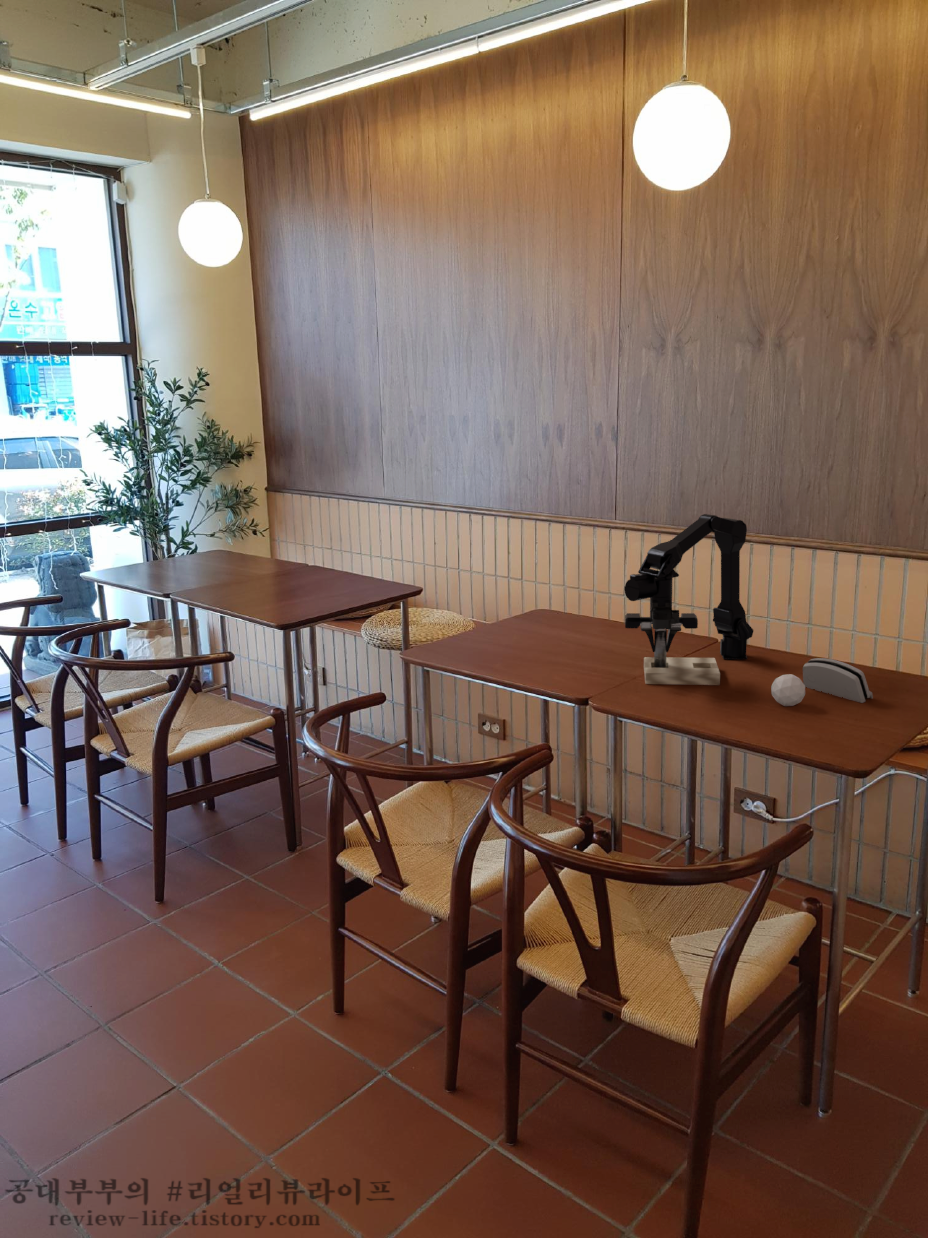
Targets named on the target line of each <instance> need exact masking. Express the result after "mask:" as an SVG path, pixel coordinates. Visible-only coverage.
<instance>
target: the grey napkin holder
mask: <svg viewBox="0 0 928 1238" xmlns="http://www.w3.org/2000/svg"><path fill="white" fill-rule="evenodd" d="M802 682H803V684H804V685H805V688H806V687H807V689H810V690H813V689H815V690H814V691H818V692H821V691H822V692H821V693H825V694H828V693H829V694H828V695H831V694H832V696H835V697H839V698H842V697H843V698H842V699H846V700H849V701H853V702H857V703H861V704H863V703H866V699H874V695H873V692H872V691H870V689H869V686H868V682H867V679H866V676H865V673H864V672H863V671H862V670H861V669H859V668H857V667H855V666H852V665H851V664H848V663H846V662H843V661H840V660H837V659H834V658H833V659H832V658H825V657H824V658H823V657H819V658H818V657H816V658H811V659H809V660H807V662H805V663H804V665H803V667H802Z"/></svg>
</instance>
